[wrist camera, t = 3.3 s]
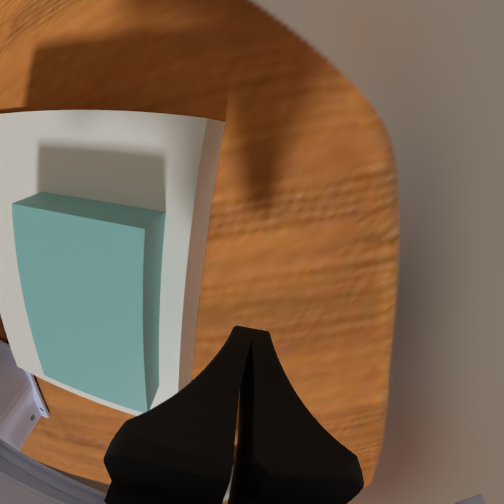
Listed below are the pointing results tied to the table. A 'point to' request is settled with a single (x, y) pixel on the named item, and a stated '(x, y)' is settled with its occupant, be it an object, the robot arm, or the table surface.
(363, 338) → the table surface
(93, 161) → the white flat block
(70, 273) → the teal rectangular block
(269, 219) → the table surface
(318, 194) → the table surface
